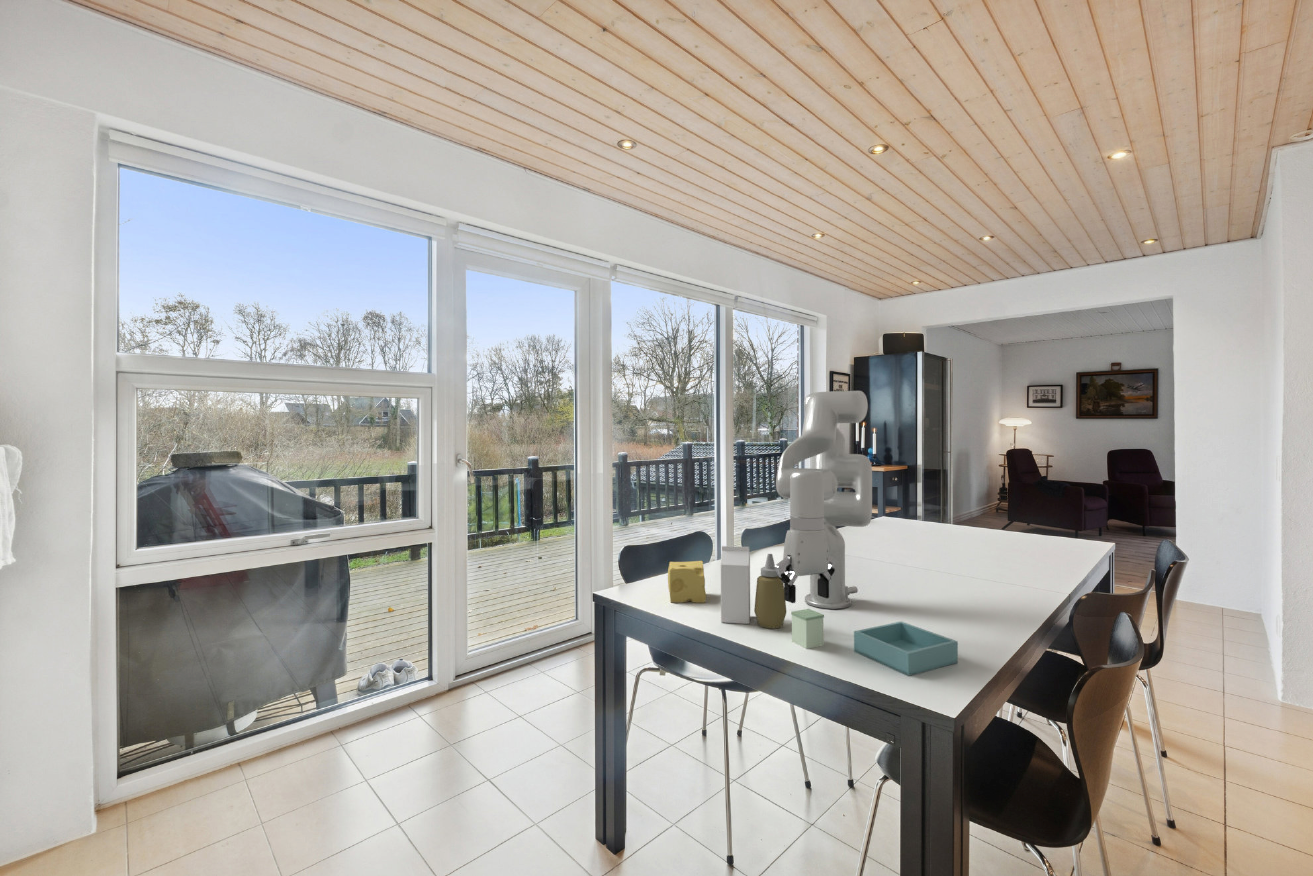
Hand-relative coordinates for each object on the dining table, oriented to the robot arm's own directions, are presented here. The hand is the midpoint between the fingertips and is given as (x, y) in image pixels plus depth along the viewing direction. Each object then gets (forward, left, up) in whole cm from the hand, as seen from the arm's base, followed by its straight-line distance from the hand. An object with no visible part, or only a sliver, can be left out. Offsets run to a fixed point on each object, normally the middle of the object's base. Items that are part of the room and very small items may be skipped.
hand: (806, 599), depth 135 cm
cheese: (+6, -45, -11) cm, 47 cm away
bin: (-14, +16, -10) cm, 23 cm away
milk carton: (+4, -22, -11) cm, 25 cm away
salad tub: (-1, 0, -10) cm, 10 cm away
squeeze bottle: (-1, -14, -11) cm, 18 cm away
